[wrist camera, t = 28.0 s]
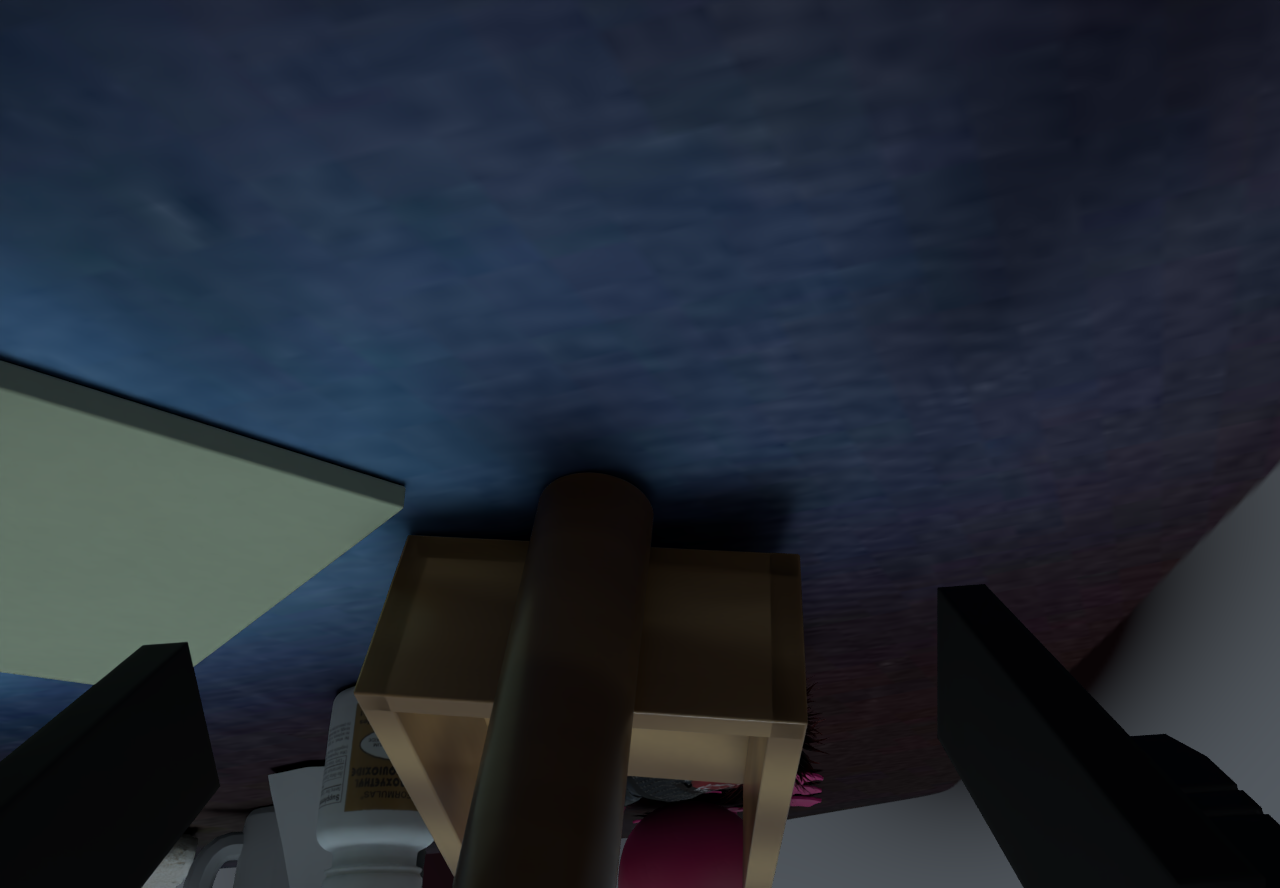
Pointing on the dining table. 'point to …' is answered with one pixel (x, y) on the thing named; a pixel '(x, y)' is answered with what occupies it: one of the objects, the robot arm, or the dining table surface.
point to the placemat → (152, 527)
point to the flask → (300, 824)
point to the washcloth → (174, 864)
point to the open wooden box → (584, 686)
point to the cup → (244, 855)
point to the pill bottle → (366, 808)
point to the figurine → (688, 788)
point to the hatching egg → (691, 845)
